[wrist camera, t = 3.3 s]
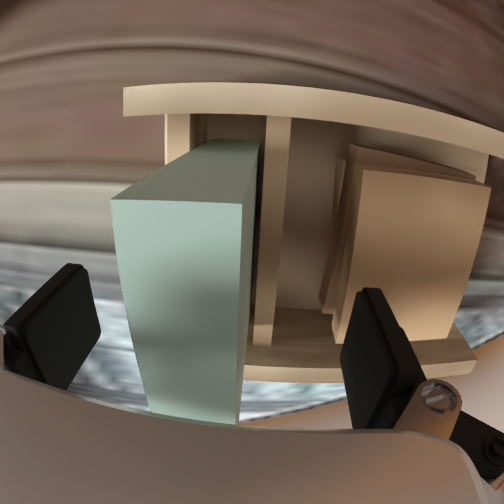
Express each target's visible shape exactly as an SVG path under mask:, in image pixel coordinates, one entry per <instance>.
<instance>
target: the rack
mask: <svg viewBox="0 0 504 504" xmlns="http://www.w3.org/2000/svg"><path fill="white" fill-rule="evenodd" d="M156 114H165V165H166V164H168V163H170V162H171V161H173V160H175V159H176V158H178V157H180V156H182V155H184V154H185V153H187V152H189V151H191V150H192V149H194V148H196V147H198V146H200V145H202V144H203V143H205V142H207V141H209V140H211V139H236V140H257V141H260V155H259V174H258V192H257V210H256V228H255V245H254V263H253V281H252V293H251V303H250V314H249V324H248V334H247V344H246V354H245V364H244V374H243V380H252V381H269V382H292V383H344V379H343V374H342V369H341V365H340V353H341V349H342V346H343V344H336V342H335V338H334V334H333V330H332V320H333V314H324V313H322V311H321V306H320V302H319V293H320V289H321V285H322V281H323V276H324V272H325V268H326V263H327V259H328V252H329V242H330V232H331V221H332V209H333V196H334V181H335V165H336V156H343V157H347V154H348V148H349V143H354V144H359V145H364V146H369V147H374V148H379V149H383V150H388V151H392V152H397V153H401V154H405V155H409V156H413V157H417V158H421V159H425V160H429V161H433V162H436V163H440V164H444V165H447V166H451V167H454V168H457V169H461V170H463V171H466V172H468V173H470V174H472V175H475V176H476V180H477V181H479V182H481V183H483V184H484V181H485V175H486V170H487V164H488V157H489V154H490V155H493V156H496V157H500V158H503V159H504V133H503V132H500V131H498V130H495V129H492V128H489V127H487V126H484V125H481V124H478V123H475V122H472V121H469V120H465V119H462V118H459V117H456V116H452V115H449V114H445V113H442V112H438V111H434V110H431V109H427V108H423V107H419V106H415V105H410V104H406V103H402V102H397V101H392V100H388V99H383V98H377V97H372V96H366V95H361V94H355V93H348V92H342V91H335V90H327V89H319V88H310V87H300V86H289V85H276V84H259V83H223V82H210V83H175V84H158V85H145V86H134V87H124V92H123V117H124V116H138V115H156ZM409 342H410V344H411V346H412V348H413V350H414V352H415V354H416V357H417V359H418V361H419V363H420V365H421V368H422V370H423V372H424V374H425V377H426V378H434V377H443V376H452V375H459V374H467V373H470V372H471V371H472V369H473V367H474V366H475V364H476V362H477V360H478V359H477V358H476V356H475V355H474V353H473V351H472V350H471V348H470V346H469V345H468V343H467V342H466V340H465V339H464V337H463V336H462V334H461V333H460V331H459V330H458V328H457V327H456V325H455V324H454V322H453V324H452V326H451V329H450V331H449V333H448V336H447V338H443V339H431V340H417V341H409Z"/></svg>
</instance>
